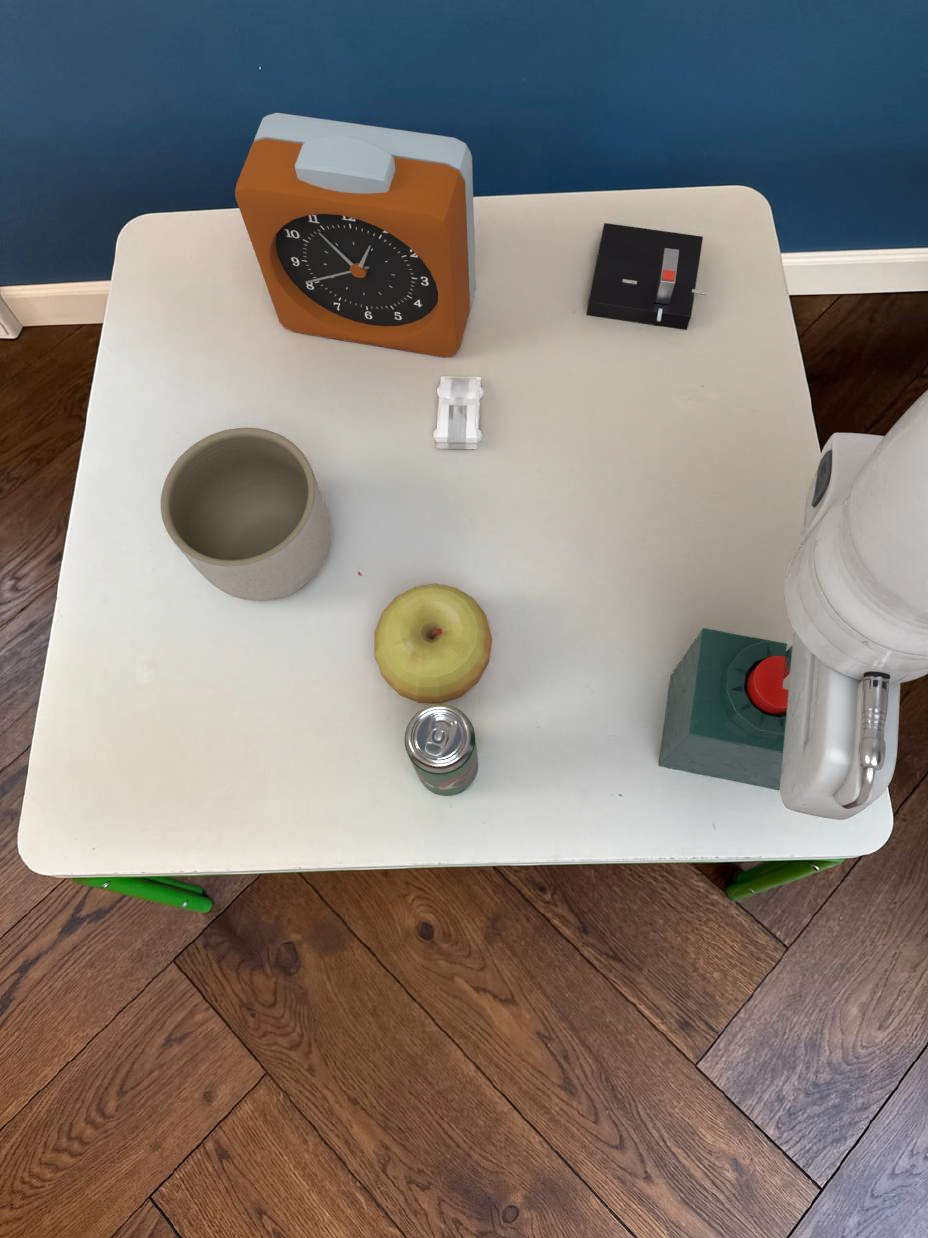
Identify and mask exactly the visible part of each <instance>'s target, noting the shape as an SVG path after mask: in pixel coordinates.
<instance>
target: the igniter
mask: <svg viewBox="0 0 928 1238" xmlns="http://www.w3.org/2000/svg"><path fill="white" fill-rule="evenodd" d="M787 644H788V643H787V642H781V641H776V640H770V639H765V638H760V637H755V636H749V635H743V634H739V633H738V634H737V633H734V632H733V633H731V632H727V631H722V630H716V629H710V628H705V627H703V628H701V630H700V631H699V633H698V634H697V636H696V637H695V639H694V641H693V642H692V643H691V644H690V645H689V648H688V649H687V651H686V652H685V654H684V655H683V656H682V658H681V659H680V661H679V662H678V664H677V665H676V667H675V668H674V669H673V671H672V673H671V674H670V678H669V685H668V692H667V698H666V699H667V700H666V706H665V715H664V721H663V728H662V735H661V743H660V749H659V750H660V751H659V758H658V767H661V768H666V769H671V770H676V771H680V772H685V773H691V774H696V775H701V776H706V777H711V778H716V779H719V780H727V781H731V782H736V783H740V784H746V785H752V786H755V787H760V788H761V787H762V788H766V789H771V790H776V791H780V780H781V770H782V759H783V747H784V736H785V725H786V714H787V712H785V713H780V714H774V713H769V712H766V711H764V710H762V709H760V708H759V707H758V706H756V705H755V704H754V702H753V701H752V700H751V698H750V696H749V693H748V689H747V682H748V678H749V676H750V674H751V672H752V671H753V670H754V669H755V668H756V667H757V666H758V665H759V664H760V663H761V662H762V661H763V660H765V659H767V658H769V657H773V656H784V657H785V655H786V645H787Z"/></svg>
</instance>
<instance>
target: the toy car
mask: <svg viewBox="0 0 928 1238" xmlns="http://www.w3.org/2000/svg"><path fill="white" fill-rule="evenodd" d="M481 385H482V377H481V376H453V375H452V376H451V375H450V376H449V375H447V376H445V375H444V376H443V375H441V376H440V382H439V386H438V387H437V388H436V395H437V397H438V407H437V417H436V418H437V419H436V428H435V429H434V431H433V432H432V438H433V439H434V443H435V446H436V447H435V448H436V449H450V450H452V449H453V450H478V448H479V443H480V442H481V441H482V439H483V432H482V430H480V429H479V428H480V413H481V412H480V411H481V399H482V398H483V397H484V394H485V391H484V388H483V387H482V386H481Z"/></svg>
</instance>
